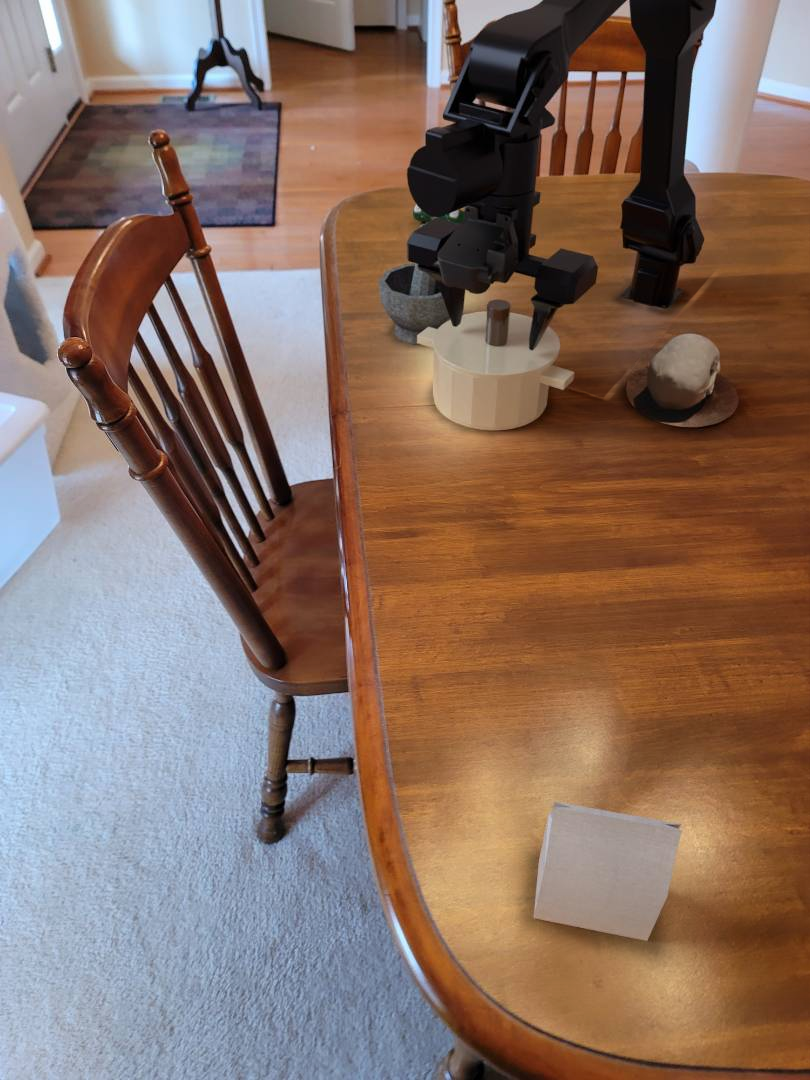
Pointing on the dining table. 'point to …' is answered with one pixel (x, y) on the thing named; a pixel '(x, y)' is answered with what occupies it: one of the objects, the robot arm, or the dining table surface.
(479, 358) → the lid
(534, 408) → the pot
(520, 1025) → the dining table surface
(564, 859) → the white rectangular box
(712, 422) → the skull
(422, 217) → the green toy car
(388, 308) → the mortar and pestle
